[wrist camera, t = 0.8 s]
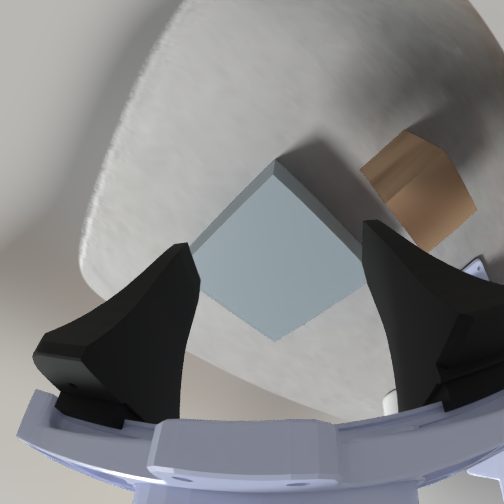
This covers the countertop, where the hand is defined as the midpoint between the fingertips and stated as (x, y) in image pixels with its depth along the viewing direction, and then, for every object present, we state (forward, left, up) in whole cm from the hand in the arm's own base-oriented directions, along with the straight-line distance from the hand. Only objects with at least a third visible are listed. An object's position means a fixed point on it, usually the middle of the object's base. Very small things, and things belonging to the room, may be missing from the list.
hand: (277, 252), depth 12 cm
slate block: (-4, +4, -10) cm, 12 cm away
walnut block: (-6, -7, -10) cm, 13 cm away
